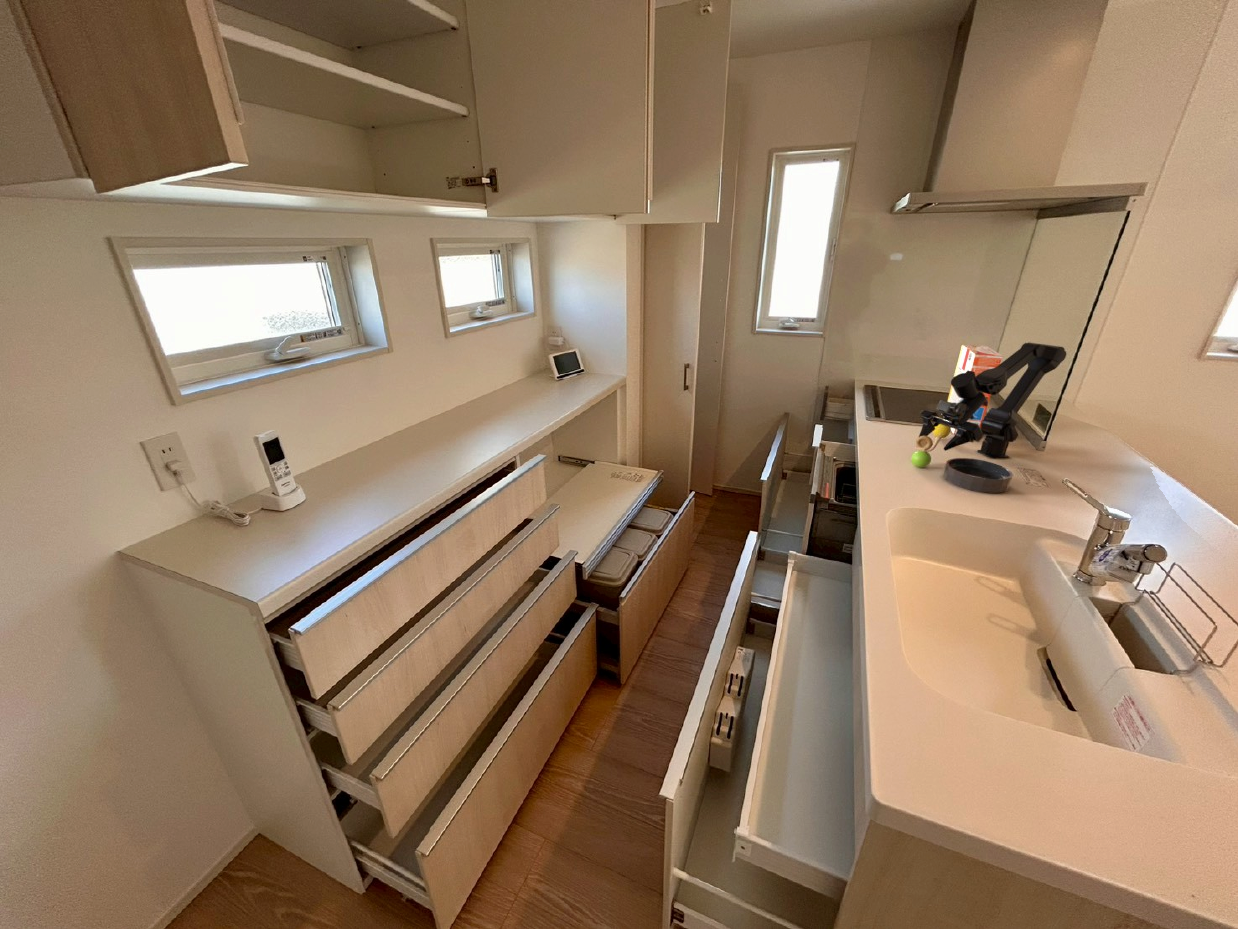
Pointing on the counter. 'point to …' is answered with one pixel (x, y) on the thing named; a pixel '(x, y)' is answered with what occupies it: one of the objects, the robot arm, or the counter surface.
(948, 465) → the pan
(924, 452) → the snail figurine
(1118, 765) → the counter surface
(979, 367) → the red and white box
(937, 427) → the lemon
